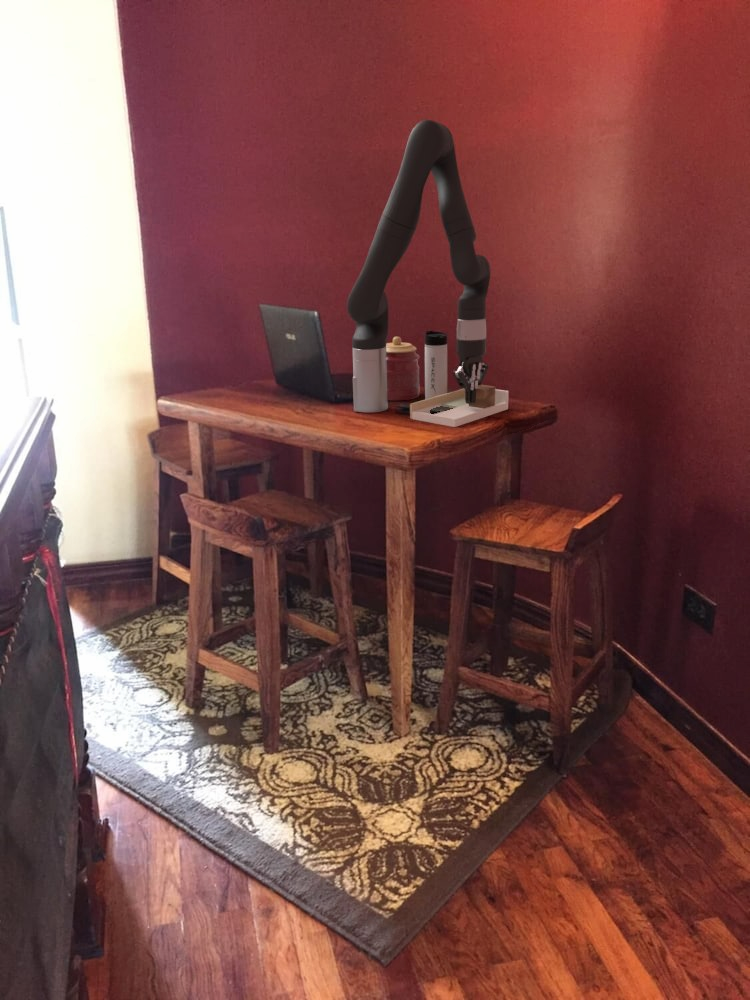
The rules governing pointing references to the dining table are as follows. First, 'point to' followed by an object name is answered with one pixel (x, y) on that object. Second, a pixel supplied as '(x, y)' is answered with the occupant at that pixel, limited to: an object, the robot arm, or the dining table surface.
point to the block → (484, 397)
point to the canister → (402, 371)
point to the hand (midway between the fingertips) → (470, 403)
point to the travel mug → (435, 364)
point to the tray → (456, 408)
